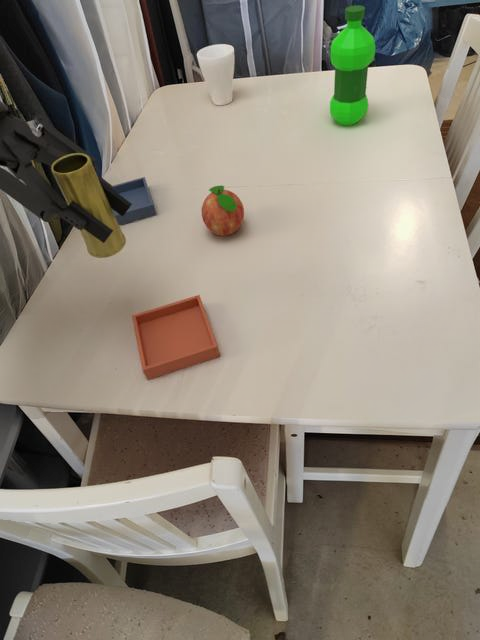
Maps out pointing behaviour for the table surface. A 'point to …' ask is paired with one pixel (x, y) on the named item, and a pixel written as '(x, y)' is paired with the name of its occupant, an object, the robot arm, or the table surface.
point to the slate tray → (135, 201)
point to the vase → (88, 201)
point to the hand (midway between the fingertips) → (117, 223)
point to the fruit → (222, 211)
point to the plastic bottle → (351, 68)
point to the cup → (218, 71)
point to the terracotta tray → (174, 337)
